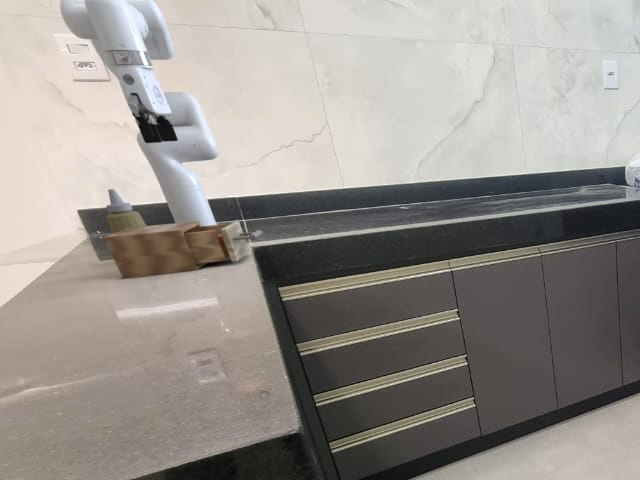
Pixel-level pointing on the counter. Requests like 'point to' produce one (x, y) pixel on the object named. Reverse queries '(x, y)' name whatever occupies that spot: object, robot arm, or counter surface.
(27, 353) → the counter surface
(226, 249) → the block
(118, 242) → the cabinet
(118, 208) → the squeeze bottle
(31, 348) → the counter surface
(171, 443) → the counter surface
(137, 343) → the counter surface
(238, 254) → the drawer
